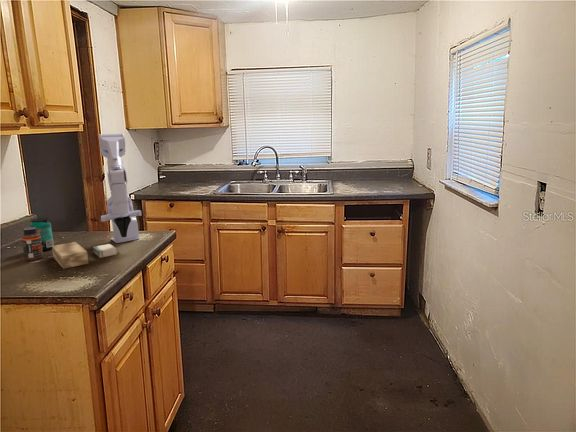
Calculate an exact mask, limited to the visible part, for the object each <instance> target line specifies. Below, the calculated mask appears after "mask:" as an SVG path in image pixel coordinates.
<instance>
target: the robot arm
mask: <svg viewBox="0 0 576 432" xmlns="http://www.w3.org/2000/svg"><path fill="white" fill-rule="evenodd" d="M98 141H99V142H98V143H99V148H100V153H101V157H104V158H106V159H107V161H106V165H107V182H108V185H109V186H108V187H109V191H110V197H109V198H108V199H107V200H106V212H107V214H104V215H100V220H101V222H106V221H111V224H112V234H113V237H111V238H110V240H111V241H113V242H115V243H116V244H119V243H125V242H129V241H135V240H140V239H141V238H140V233H139V225H138V220H137V218H136V217H137V216H140V217H141V216H142V210H140V209H137V210H134V205H133V201H132V199H131V197H129V196H128V188H127V185H128V175H127V170H126V169H125V165H124V160H123V158H122V157H123V156H125V155H126V137H125V134H124V133H122V132H121V133H104V134H103V133H102V134H101V133H99V134H98Z"/></svg>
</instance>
